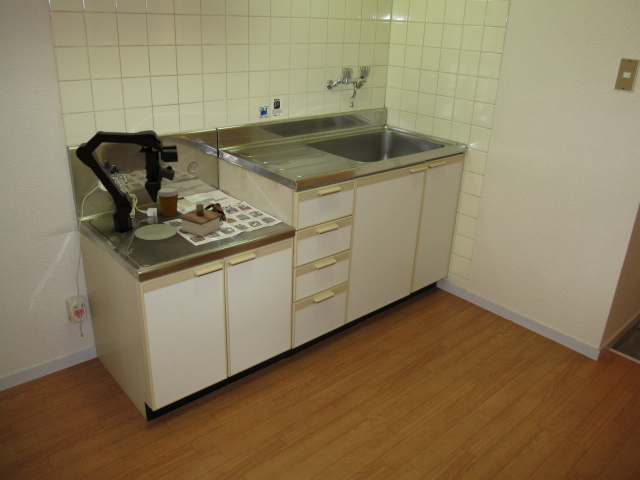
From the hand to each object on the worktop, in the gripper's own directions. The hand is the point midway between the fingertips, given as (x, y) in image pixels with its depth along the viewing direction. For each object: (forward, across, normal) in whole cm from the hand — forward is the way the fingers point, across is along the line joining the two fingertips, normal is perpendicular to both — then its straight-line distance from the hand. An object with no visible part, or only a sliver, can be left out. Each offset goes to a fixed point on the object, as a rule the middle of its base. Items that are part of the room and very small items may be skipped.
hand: (155, 199), depth 226 cm
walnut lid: (+7, -5, -18) cm, 20 cm away
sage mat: (+13, -5, +1) cm, 14 cm away
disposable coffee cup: (+13, +16, -4) cm, 21 cm away
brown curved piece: (+13, +8, -24) cm, 29 cm away
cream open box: (+13, -5, -18) cm, 22 cm away
